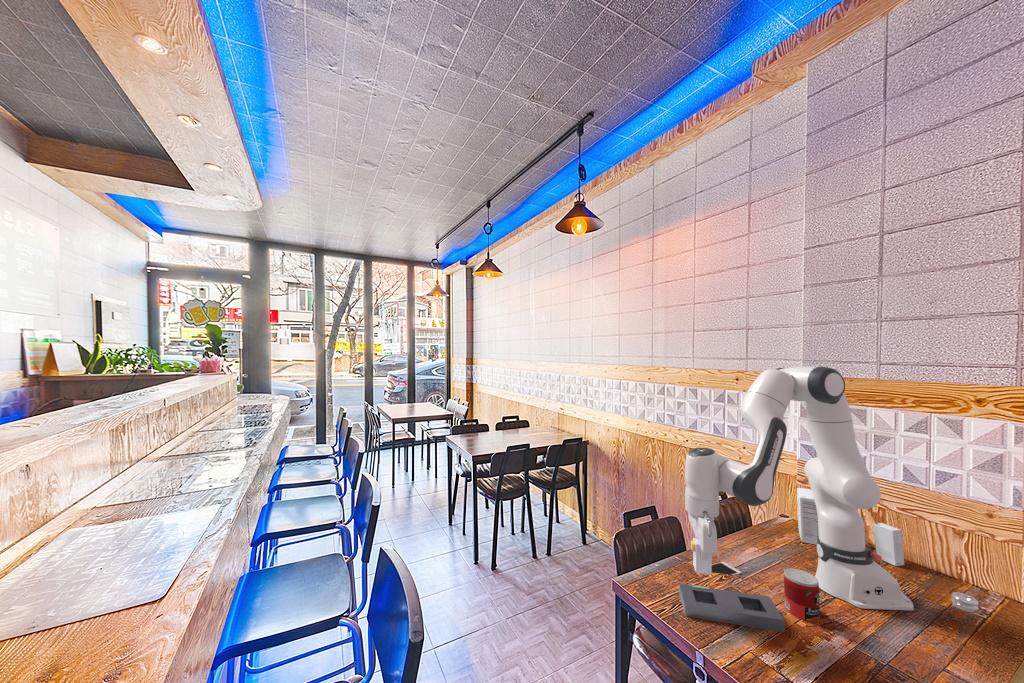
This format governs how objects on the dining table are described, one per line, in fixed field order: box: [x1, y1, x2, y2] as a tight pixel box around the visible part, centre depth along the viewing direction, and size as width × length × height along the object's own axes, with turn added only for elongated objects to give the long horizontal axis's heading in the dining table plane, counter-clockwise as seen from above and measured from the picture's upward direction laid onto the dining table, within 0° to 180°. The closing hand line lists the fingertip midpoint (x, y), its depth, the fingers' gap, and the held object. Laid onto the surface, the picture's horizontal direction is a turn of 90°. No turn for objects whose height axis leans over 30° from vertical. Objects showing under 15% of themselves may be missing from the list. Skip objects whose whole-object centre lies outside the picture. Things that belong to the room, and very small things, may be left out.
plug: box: [690, 537, 713, 576], centre depth 108 cm, size 5×4×8 cm
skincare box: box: [873, 522, 905, 567], centre depth 133 cm, size 6×4×12 cm
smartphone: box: [692, 561, 742, 576], centre depth 126 cm, size 7×16×1 cm, turn 110°
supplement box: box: [796, 487, 819, 546], centre depth 149 cm, size 13×13×18 cm
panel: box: [678, 583, 786, 633], centre depth 106 cm, size 24×10×4 cm, turn 75°
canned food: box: [783, 567, 821, 623], centre depth 105 cm, size 8×8×11 cm
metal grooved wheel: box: [950, 591, 980, 614], centre depth 109 cm, size 5×3×5 cm
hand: (702, 553), depth 108 cm, fingers closed on plug, 4 cm apart
